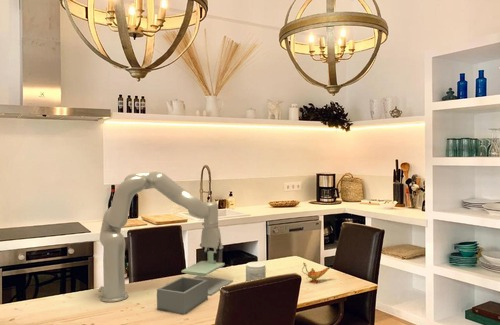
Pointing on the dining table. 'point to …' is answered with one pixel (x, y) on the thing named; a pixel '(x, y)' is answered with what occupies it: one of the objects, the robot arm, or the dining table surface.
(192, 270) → the lid
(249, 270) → the supplement tub
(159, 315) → the dining table surface
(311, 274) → the magic lamp
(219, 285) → the mat
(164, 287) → the parts tub
